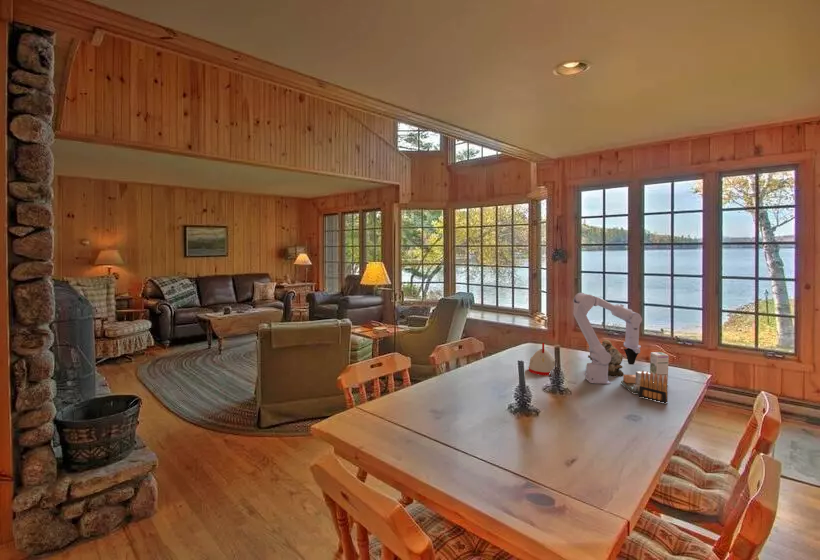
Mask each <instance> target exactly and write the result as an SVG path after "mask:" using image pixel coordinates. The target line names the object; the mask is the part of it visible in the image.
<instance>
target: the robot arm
mask: <svg viewBox="0 0 820 560" xmlns="http://www.w3.org/2000/svg"><path fill="white" fill-rule="evenodd" d="M572 303H573V314H572V315H573V317H574V319H575V321H576V322H577V325H578V327H579V328H580V331H581V333H582V335H583V337H584V338H585V341H586V343H587V345H588V346H589V347H588V350H589V355H590V357H591V358H592V360H591V362H588V363H586V366H585V379H586V380H587V381H588V382H589V383H590V384H608V385H609V384H610V385H611V384H612V383H611V381H609V376H608V364H609V363H610V361H611V355H610V354H609V353H608V352H607V351H606V350H605V348H604V347H603V346H602V345H601V344H602V342H601V341H600V340H599V338H598V336H597V333H596V332H595V330H594V328H593V326H592V324H591V322H590V320H589V318H588V316H587V314H588V312H589V311H590V310H591V309H593V307H597V306H598V307H600V308H603V309H605V310H608V311H610V313H611V314H612V315H613V317H616V318H618V319H620V320H623V321H624V322H625V338H624V339H625V340H624V341H623V347H625V348H624V349H623V350H624V353H625V356H626V358H627V363H628V365H635V363H636V359H637V357H638V355H639V354H641V348H642V346H641V344H639V342H640V341H639V340H640V325H641V323H642V322H643V318H642V315H641V314H640V313H638V312H635V311H633V309H632V308H628V307H625V305H624V304H623V303H622V304H615V305H614V304H612V303H611V302H608V301H607V300H605V299H603V298H601V297H600V296H599V297H598V296H594V295H592V294H587V293H584V292H578V293H576V294H575V295H574V297H573V300H572Z"/></svg>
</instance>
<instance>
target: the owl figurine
mask: <svg viewBox="0 0 820 560" xmlns="http://www.w3.org/2000/svg"><path fill="white" fill-rule="evenodd" d="M601 345H602V346H603V347H604V348H605V350H606V351H607V352H608V353H609V354H610V355H611V361H610V363H609V364H608V377H614V376H616V377H618V376H620V377H623V375H624V371H622V369H623V365H622V362H623V358H624V357H623V354H622V353H620V351H619V349H618V348H617V347H615V346H614V345H613V343H612V342H611V340H609V339H604V340H602V342H601ZM587 358H589V359H590V361H592V358H591V357H590V354H589V355H587Z"/></svg>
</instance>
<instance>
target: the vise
mask: <svg viewBox="0 0 820 560" xmlns="http://www.w3.org/2000/svg"><path fill="white" fill-rule="evenodd" d="M621 383H622V384H623V385H624V386H625V387H624V386H623V385H622V384H621ZM620 384H621V385H622V386H623V387H624V388H625V389H627V388H628V389H629V390H630V391H631V392H630V393H632V392H633V393H638V394H637V395H639V389H640V385H636V384H635V383H626V382H625V381H623V380H620ZM628 389H627V390H628ZM629 390H628V391H629ZM633 393H632V394H633Z"/></svg>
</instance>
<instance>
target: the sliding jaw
mask: <svg viewBox="0 0 820 560" xmlns="http://www.w3.org/2000/svg"><path fill="white" fill-rule="evenodd" d="M622 377H623V378H622V379H623V380H622V381H625V382H626V383H635V379H636V374H624V375H623V376H622Z"/></svg>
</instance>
